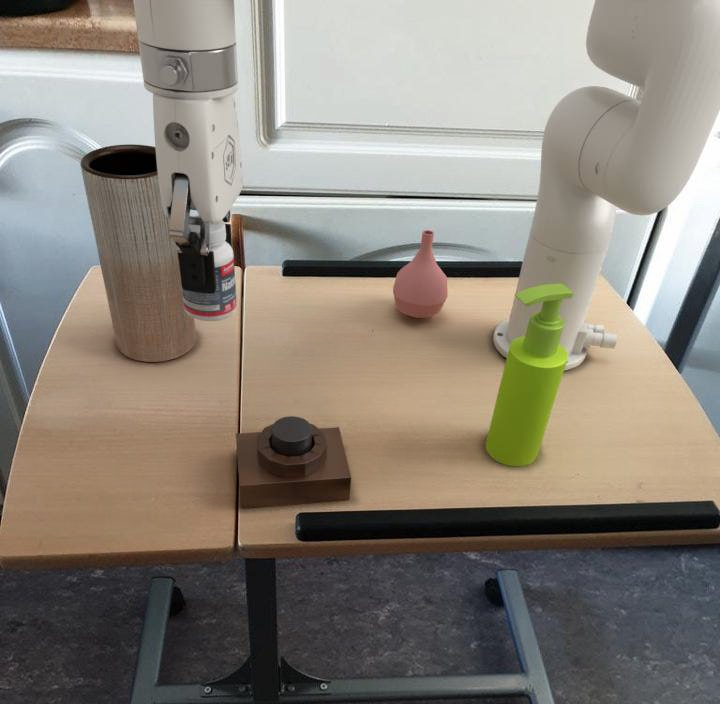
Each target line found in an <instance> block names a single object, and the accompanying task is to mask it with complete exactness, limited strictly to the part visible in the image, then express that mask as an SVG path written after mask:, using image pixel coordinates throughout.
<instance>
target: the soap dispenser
mask: <svg viewBox="0 0 720 704" xmlns="http://www.w3.org/2000/svg"><path fill="white" fill-rule="evenodd" d="M515 293H516V292H515ZM515 293H514V297H515V296H516V297H517V298H518V299H519V300H520V301H521V302H522V303H523V304H525V305H526V306H527V307H528V306H531V305H534V304H537V303H540V302H543V304H542V308H541V312H536V313H534V314H532V315H531V317H530V319H529V323H528V327H527V331H526V335H525V336H522V337H519V338H516V339H515V340H513V341H512V342H511V344H510V347H509V351H508V355H507V358H506V359H505V364H504V367H503V371H502V376H501V380H500V384H499V388H498V391H497V397H496V400H495V403H494V408H493V412H492V418H491V421H490V425H489V429H488V432H487V433H488V434H487V437H486V442H485V449H486V452H487V454H489V456H490V457H491V458H492V459H493V460H495V461H496V462H497V463H500V464H503V465H505V466H509V467H526V466H529V465H531V464H532V463H534V462H535V461H536V460H537V458H538V455H539V452H540V448H541V445H542V442H543V438H544V436H545V432H546V430H547V426H548V422H549V420H550V418H551V414H552V410H553V407H554V405H555V400H556V397H557V395H558V391H559V388H560V385H561V381H562V378H563V376H564V372H565V371H564V369H565V366H566V363H567V359H568V354H567V351H566V350H565V349H564V347H563V346H561V345H560V344H559V341H560V338H561V335H562V331H563V328H564V321H563V319H562V318H561V317H559V316H558V313H559V310H560V307H561V303H562V300H563V299H569V298H572V296H573V292H572V291H571V290H569V289H568V288H567V287H565V286H564V285H563V284H548V285H540V286H535V287H531V288H528V289H525V290H523V291H520V292H518V293H516V294H515Z"/></svg>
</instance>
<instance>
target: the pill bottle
mask: <svg viewBox="0 0 720 704" xmlns="http://www.w3.org/2000/svg"><path fill="white" fill-rule="evenodd" d="M195 216H196V217H200V216H199V215H195ZM225 224H226V222H225V223H224V221H223V220H221V221H220V222H219V223H218V224H216V225H212V224H211V223H210V247H209V251H213V252H214V263H215V276H216V291H215V292H214V293H213V294H210V293H202V292H194V291H186V290H184V289H183V288H182V292H183V303H184V309H185V312H186V313H187V314H188V315H189V316H190V317H192V318H194V320H198V321H201V322H202V321H203V322H219V321H223V320H225V319H228V318H230V317H231V316H233V315H234V314H235V312H236V311H237V307H238V305H237V303H238V302H237V301H238V300H237V288H236V285H237V284H236V273H235V271H236V269H235V255H234V250H233V246H232V247H231V246H230V245H229V244H228V243H227V242H226V241H225V240H226V228H225ZM189 228H190V229H191V232H196V233H197V235H198V236H199V238H200V225H192V224H189Z"/></svg>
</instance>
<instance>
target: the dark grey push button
mask: <svg viewBox="0 0 720 704" xmlns="http://www.w3.org/2000/svg"><path fill="white" fill-rule="evenodd" d="M272 424H273V426H272V447H273V449H274V450H275V451H276V452H277V453H278V454H280V455H284V456H287V457H292V456H302V455H304V454H306V453H307V452H308V451H309V450H310V449H311V446H312V426H311V424H312V423H310V422H309V421H308V420H307V419H305V418H303V417H299V416H296V415H295V416H294V415H292V416H291V415H290V416H283V417H280V418H279V419H277V420H276V421H274V423H272Z"/></svg>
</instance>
